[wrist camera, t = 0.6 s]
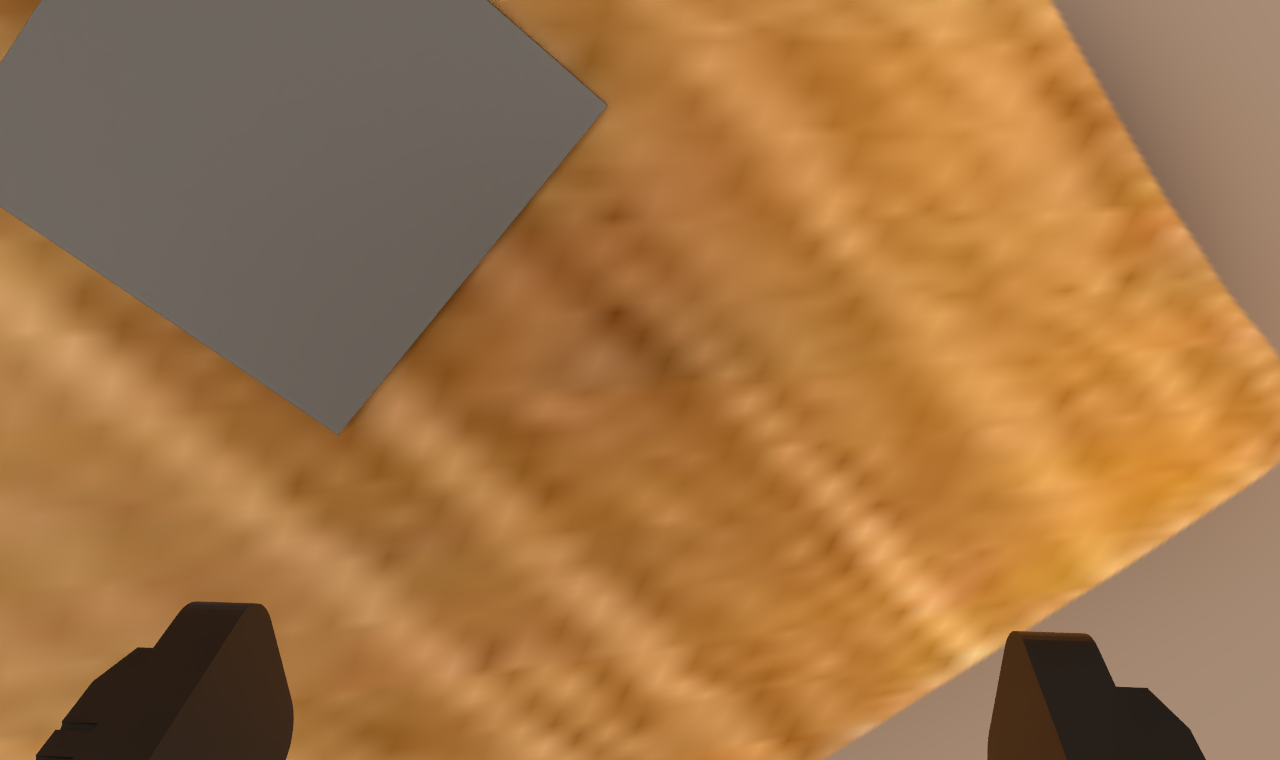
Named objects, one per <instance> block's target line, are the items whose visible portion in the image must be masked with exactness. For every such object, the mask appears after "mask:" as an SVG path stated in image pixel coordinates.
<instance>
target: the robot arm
mask: <svg viewBox="0 0 1280 760" xmlns="http://www.w3.org/2000/svg"><path fill="white" fill-rule="evenodd" d="M293 721H294V717H293V705H292V700H291V696H290V692H289V688H288V684H287V680H286V676H285V673H284V669H283V665H282V661H281V657H280V653H279V649H278V645H277V641H276V638H275V634H274V630H273V626H272V622H271V619H270V616H269V613H268V611H267V610H266V608H265V607H264V606H263V605H261V604H255V603H225V602H191V603H189V604H187V605H186V606H185V607H184V608H183V609H182V610H181V611H180V612H179V613H178V615H177V616H176V617H175V619H174V620H173V622H172V623H171V624H170V626H169V627H168V628H167V630H166V631H165V633H164V634H163V635H162V637H161V638H160V639H159V641H158V642H157V644H156V645H155V646H154V648H136V649H135V650H134V651H132V652H131V653H130V654H128V655H127V656H126V657H125V658H123V659H122V660H121V661H119V662H118V663H117V664H115V665H114V666H113V667H111V668H110V669H109V670H107V671H106V672H105V673H103V674H102V675H101V676H99V677H98V678H97V679H95V680H94V681H93V682H92V683H91V685H90V686H89V687H88V688H87V690H86V691H85V692H84V694H83V695H82V696H81V698H80V699H79V700H78V701H77V703H76V704H75V705H74V707H73V708H72V709H71V710H70V712H69V713H68V714H67V716H66V717H65V718H64V720H63V721H62V727H61V729H60V730H55V731H54V733H53V734H52V735H51V736H50V738H49V739H48V740H47V742H46V743H45V744H44V745H43V747H42V748H41V749H40V751H39V752H38V753H37V755H36V760H286V757H287V754H288V751H289V748H290V744H291V739H292V732H293ZM988 760H1206V759H1205V757H1204V755H1203V753H1202V752H1201V750H1200V748H1199V746H1198V744H1197V742H1196V740H1195V738H1194V736H1193V734H1192V732H1191V730H1190V729H1189V728H1188V727H1187V726H1186V725H1185V724H1184V723H1183V722H1182V721H1181V720H1180V719H1179V718H1178V717H1177V716H1176V715H1175V714H1173V712H1171V710H1169V709H1168V708H1167V707H1166V706H1165V705H1164V704H1163V703H1162V702H1161V701H1160V700H1159V699H1158V698H1157V697H1156V696H1155V695H1154V694H1153V693H1152V692H1151V691H1149V690H1148V688H1132V687H1116V686H1115V684H1114V682H1113V680H1112V677H1111V675H1110V673H1109V671H1108V669H1107V667H1106V664H1105V662H1104V660H1103V658H1102V656H1101V653H1100V651H1099V649H1098V647H1097V645H1096V643H1095V641H1094V640H1093V639H1092V638H1091V637H1090V636H1089V635H1088V634H1081V633H1054V632H1024V631H1013V632H1011V633H1010V634H1009V636H1008V638H1007V641H1006V645H1005V649H1004V655H1003V660H1002V666H1001V671H1000V676H999V682H998V688H997V693H996V698H995V704H994V709H993V714H992V720H991V725H990V730H989V737H988Z"/></svg>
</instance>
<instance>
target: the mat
mask: <svg viewBox="0 0 1280 760" xmlns="http://www.w3.org/2000/svg"><path fill="white" fill-rule="evenodd" d="M606 107H607V105H606V103H605V102H604V101H603V100H602V99H600V98H599V97H598V96H597V95H596V94H595V93H594V92H592V91H591V90H590V89H589V88H588V87H587V86H586V85H584V84H583V83H582V82H581V81H580V80H579V79H578V78H576V77H575V76H574V75H573V74H572V73H571V72H570V71H568V70H567V69H566V68H565V67H564V66H563V65H562V64H560V63H559V62H558V61H557V60H556V59H555V58H554V57H552V56H551V55H550V54H549V53H548V52H547V51H546V50H544V49H543V48H542V47H541V46H540V45H539V44H538V43H536V42H535V41H534V40H533V39H532V38H531V37H530V36H528V35H527V34H526V33H525V32H524V31H523V30H522V29H520V28H519V27H518V26H517V25H516V24H515V23H514V22H512V21H511V20H510V19H509V18H508V17H507V16H506V15H504V14H503V13H502V12H501V11H500V10H499V9H498V8H496V7H495V6H494V5H493V4H492V3H491V2H490V1H488V0H41V1H40V3H39V5H38V6H37V8H36V9H35V11H34V12H33V14H32V15H31V17H30V18H29V20H28V21H27V23H26V25H25V26H24V28H23V29H22V31H21V32H20V34H19V35H18V37H17V38H16V40H15V42H14V43H13V45H12V46H11V48H10V49H9V51H8V52H7V54H6V55H5V57H4V58H3V60H2V62H1V63H0V207H2V208H3V209H5V210H6V211H7V212H9V213H10V214H12V215H13V216H15V217H16V218H18V219H19V220H21V221H22V222H24V223H25V224H27V225H28V226H30V227H31V228H33V229H34V230H36V231H37V232H39V233H40V234H41V235H43V236H44V237H46V238H47V239H49V240H50V241H52V242H53V243H55V244H56V245H58V246H59V247H61V248H62V249H64V250H65V251H67V252H68V253H70V254H71V255H73V256H74V257H76V258H77V259H78V260H80V261H81V262H83V263H84V264H86V265H87V266H89V267H90V268H92V269H93V270H95V271H96V272H98V273H99V274H101V275H102V276H104V277H105V278H107V279H108V280H110V281H111V282H112V283H114V284H115V285H117V286H118V287H120V288H121V289H123V290H124V291H126V292H127V293H129V294H130V295H132V296H133V297H135V298H136V299H138V300H139V301H141V302H142V303H144V304H145V305H147V306H148V307H149V308H151V309H152V310H154V311H155V312H157V313H158V314H160V315H161V316H163V317H164V318H166V319H167V320H169V321H170V322H172V323H173V324H175V325H176V326H178V327H179V328H181V329H182V330H183V331H185V332H186V333H188V334H189V335H191V336H192V337H194V338H195V339H197V340H198V341H200V342H201V343H203V344H204V345H206V346H207V347H209V348H210V349H212V350H213V351H215V352H216V353H218V354H219V355H220V356H222V357H223V358H225V359H226V360H228V361H229V362H231V363H232V364H234V365H235V366H237V367H238V368H240V369H241V370H243V371H244V372H246V373H247V374H249V375H250V376H252V377H253V378H254V379H256V380H257V381H259V382H260V383H262V384H263V385H265V386H266V387H268V388H269V389H271V390H272V391H274V392H275V393H277V394H278V395H280V396H281V397H283V398H284V399H286V400H287V401H289V402H290V403H291V404H293V405H294V406H296V407H297V408H299V409H300V410H302V411H303V412H305V413H306V414H308V415H309V416H311V417H312V418H314V419H315V420H317V421H318V422H320V423H321V424H323V425H324V426H325V427H327V428H328V429H330V430H331V431H333V432H334V433H336V434H337V435H339V433H340V432H341V431H342V430H343V429H344V427H345V426H346V425H347V424H348V422H349V421H350V420H351V419H352V418H353V416H354V415H355V414H356V413H357V411H358V410H359V409H360V408H361V407H362V405H363V404H364V403H365V402H366V400H367V399H368V398H369V397H370V396H371V394H372V393H373V392H374V391H375V389H376V388H377V387H378V386H379V384H380V383H381V382H382V381H383V380H384V378H385V377H386V376H387V375H388V373H389V372H390V371H391V370H392V369H393V367H394V366H395V365H396V364H397V362H398V361H399V360H400V359H401V358H402V356H403V355H404V354H405V353H406V351H407V350H408V349H409V348H410V347H411V345H412V344H413V343H414V342H415V340H416V339H417V338H418V337H419V336H420V334H421V333H422V332H423V331H424V329H425V328H426V327H427V326H428V325H429V323H430V322H431V321H432V320H433V318H434V317H435V316H436V315H437V314H438V312H439V311H440V310H441V309H442V307H443V306H444V305H445V304H446V302H447V301H448V300H449V299H450V298H451V296H452V295H453V294H454V293H455V291H456V290H457V289H458V288H459V287H460V285H461V284H462V283H463V282H464V280H465V279H466V278H467V277H468V276H469V274H470V273H471V272H472V271H473V269H474V268H475V267H476V266H477V265H478V263H479V262H480V261H481V260H482V258H483V257H484V256H485V255H486V254H487V252H488V251H489V250H490V249H491V247H492V246H493V245H494V244H495V243H496V241H497V240H498V239H499V238H500V236H501V235H502V234H503V233H504V231H505V230H506V229H507V228H508V227H509V225H510V224H511V223H512V222H513V220H514V219H515V218H516V217H517V216H518V214H519V213H520V212H521V211H522V209H523V208H524V207H525V206H526V205H527V203H528V202H529V201H530V200H531V198H532V197H533V196H534V195H535V194H536V192H537V191H538V190H539V189H540V187H541V186H542V185H543V184H544V183H545V181H546V180H547V179H548V178H549V176H550V175H551V174H552V173H553V172H554V170H555V169H556V168H557V167H558V165H559V164H560V163H561V162H562V161H563V159H564V158H565V157H566V156H567V154H568V153H569V152H570V151H571V149H572V148H573V147H574V146H575V145H576V143H577V142H578V141H579V140H580V138H581V137H582V136H583V135H584V134H585V132H586V131H587V130H588V129H589V127H590V126H591V125H592V124H593V123H594V121H595V120H596V119H597V118H598V116H599V115H600V114H601V113H602V112H603V110H604V109H605V108H606Z"/></svg>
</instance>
